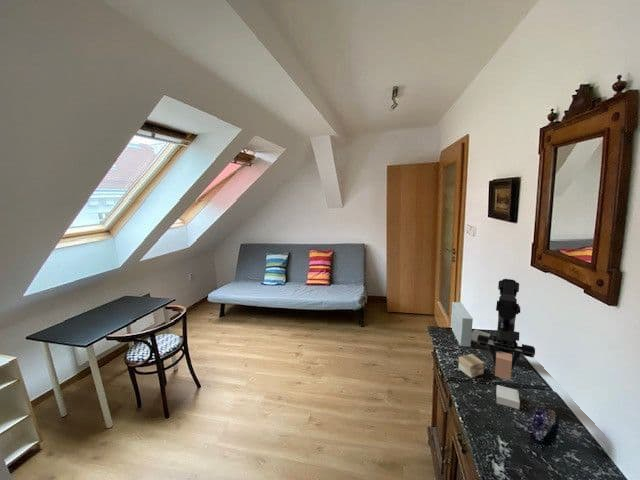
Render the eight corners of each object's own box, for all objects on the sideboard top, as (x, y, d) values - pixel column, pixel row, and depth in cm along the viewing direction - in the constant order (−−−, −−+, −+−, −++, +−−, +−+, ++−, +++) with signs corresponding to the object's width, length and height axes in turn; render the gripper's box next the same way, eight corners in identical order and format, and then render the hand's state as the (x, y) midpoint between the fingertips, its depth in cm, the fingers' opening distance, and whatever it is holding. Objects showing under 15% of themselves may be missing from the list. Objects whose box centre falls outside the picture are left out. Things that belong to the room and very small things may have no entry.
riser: (496, 391, 113) (496, 384, 112) (517, 397, 109) (517, 390, 109) (496, 403, 107) (497, 396, 107) (519, 409, 104) (519, 402, 103)
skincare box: (471, 347, 144) (473, 318, 141) (460, 346, 145) (461, 318, 142) (460, 327, 164) (461, 301, 161) (450, 326, 165) (451, 301, 162)
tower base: (470, 365, 130) (470, 359, 130) (483, 374, 124) (483, 368, 123) (458, 368, 128) (458, 363, 128) (470, 378, 122) (471, 372, 121)
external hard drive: (466, 340, 151) (474, 331, 159) (483, 346, 145) (490, 336, 153) (466, 338, 150) (474, 328, 159) (483, 343, 145) (490, 333, 153)
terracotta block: (495, 368, 112) (496, 350, 110) (510, 372, 109) (512, 354, 107) (494, 375, 108) (496, 357, 106) (510, 380, 105) (512, 361, 103)
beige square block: (471, 359, 130) (471, 353, 129) (483, 368, 123) (483, 362, 122) (458, 362, 128) (458, 356, 127) (470, 372, 121) (470, 365, 121)
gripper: (478, 316, 113) (474, 355, 106) (536, 327, 102) (536, 371, 96) (479, 325, 121) (475, 362, 114) (534, 336, 110) (533, 377, 103)
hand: (503, 368), depth 107 cm, fingers closed on terracotta block, 5 cm apart
